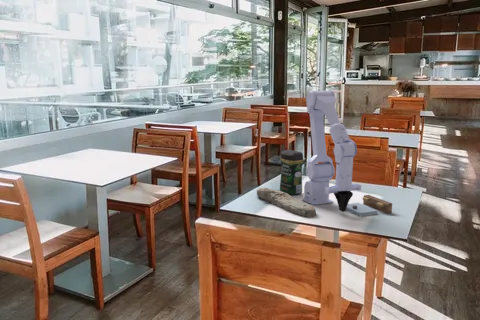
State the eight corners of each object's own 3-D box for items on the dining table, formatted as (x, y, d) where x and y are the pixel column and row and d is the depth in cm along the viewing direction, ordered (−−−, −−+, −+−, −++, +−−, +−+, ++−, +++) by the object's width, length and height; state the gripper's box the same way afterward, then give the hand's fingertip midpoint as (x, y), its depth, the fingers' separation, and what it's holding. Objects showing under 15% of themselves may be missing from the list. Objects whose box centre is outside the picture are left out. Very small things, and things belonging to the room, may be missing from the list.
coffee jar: (276, 191, 189) (277, 149, 186) (290, 188, 194) (291, 147, 190) (291, 196, 181) (292, 152, 178) (305, 193, 186) (306, 151, 182)
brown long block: (383, 213, 159) (383, 204, 158) (360, 204, 170) (360, 195, 170) (391, 212, 160) (392, 203, 160) (368, 203, 172) (368, 194, 171)
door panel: (359, 218, 156) (360, 210, 155) (341, 209, 166) (341, 202, 165) (377, 215, 159) (377, 207, 159) (358, 206, 169) (358, 200, 168)
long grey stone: (300, 223, 154) (322, 220, 159) (302, 209, 152) (324, 206, 157) (249, 194, 183) (268, 192, 188) (250, 182, 182) (270, 181, 187)
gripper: (333, 178, 150) (332, 216, 153) (367, 175, 156) (365, 211, 158) (322, 174, 157) (320, 210, 159) (355, 171, 162) (353, 206, 165)
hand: (342, 210), depth 159 cm, fingers closed
